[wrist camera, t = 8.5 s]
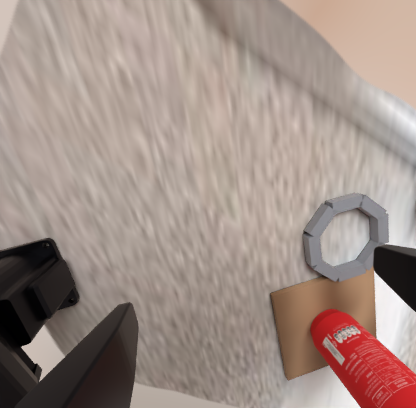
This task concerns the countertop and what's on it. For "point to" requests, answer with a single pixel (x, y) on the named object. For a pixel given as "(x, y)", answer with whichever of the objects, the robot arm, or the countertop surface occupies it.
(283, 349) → the coaster
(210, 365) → the countertop surface
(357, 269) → the ring
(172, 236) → the countertop surface
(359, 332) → the beverage can
